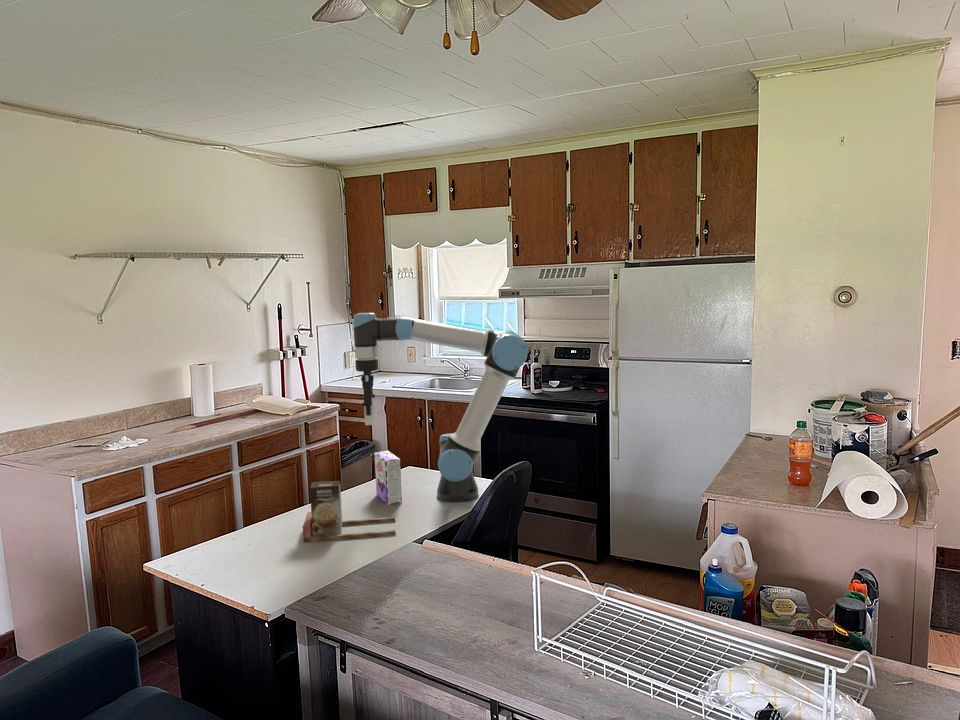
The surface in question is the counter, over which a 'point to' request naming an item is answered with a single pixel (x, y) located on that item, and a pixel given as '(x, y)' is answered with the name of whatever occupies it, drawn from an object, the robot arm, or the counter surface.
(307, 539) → the channel
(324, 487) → the coffee box
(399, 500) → the candy box
